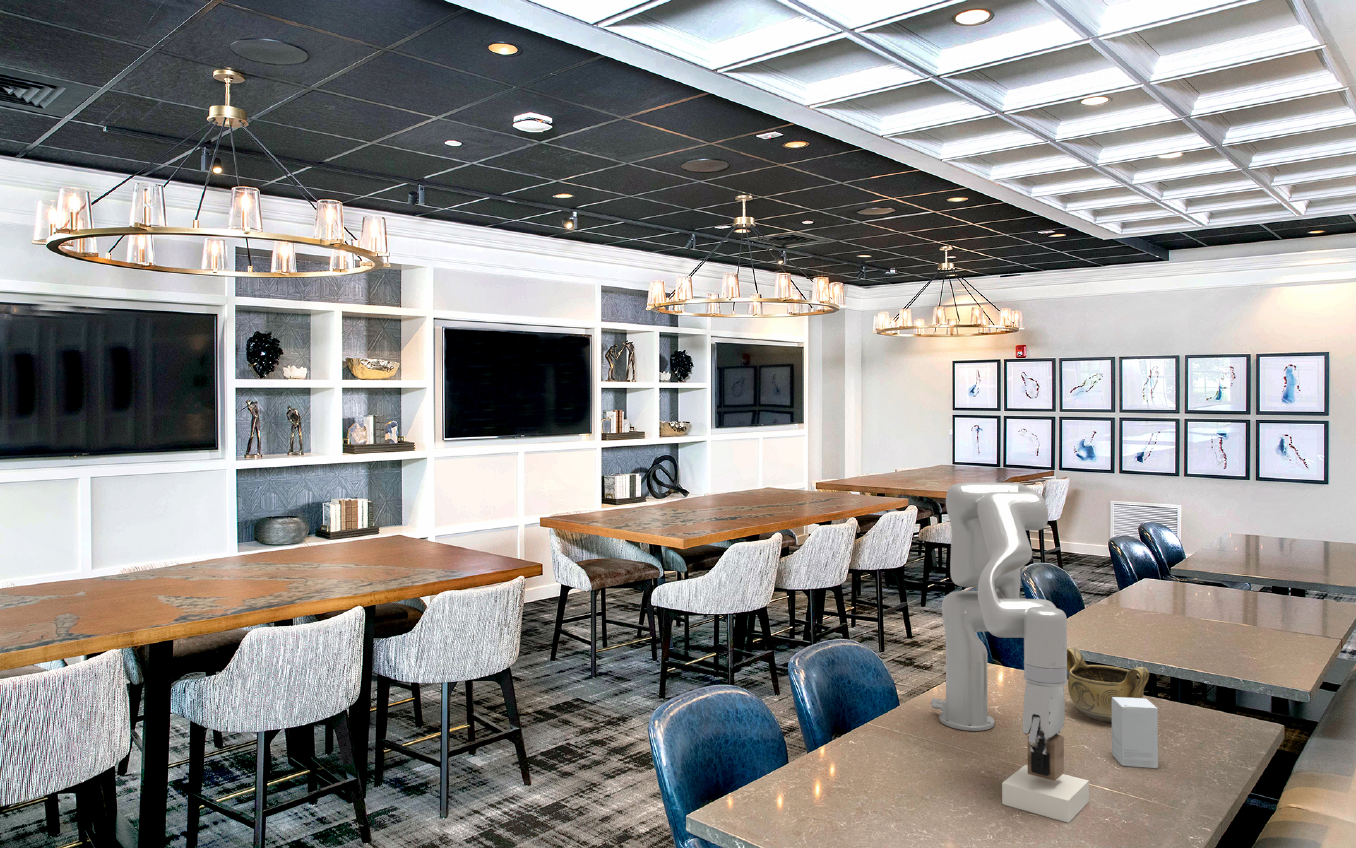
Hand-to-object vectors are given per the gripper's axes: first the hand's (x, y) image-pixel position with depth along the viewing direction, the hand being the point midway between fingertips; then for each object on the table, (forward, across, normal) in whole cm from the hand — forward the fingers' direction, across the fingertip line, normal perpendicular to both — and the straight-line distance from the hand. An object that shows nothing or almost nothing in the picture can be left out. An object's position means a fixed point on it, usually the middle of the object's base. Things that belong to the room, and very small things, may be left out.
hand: (1045, 768), depth 167 cm
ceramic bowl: (+7, -60, -6) cm, 61 cm away
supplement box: (+7, -34, +7) cm, 35 cm away
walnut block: (+1, 0, 0) cm, 1 cm away
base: (+7, 0, 0) cm, 7 cm away
